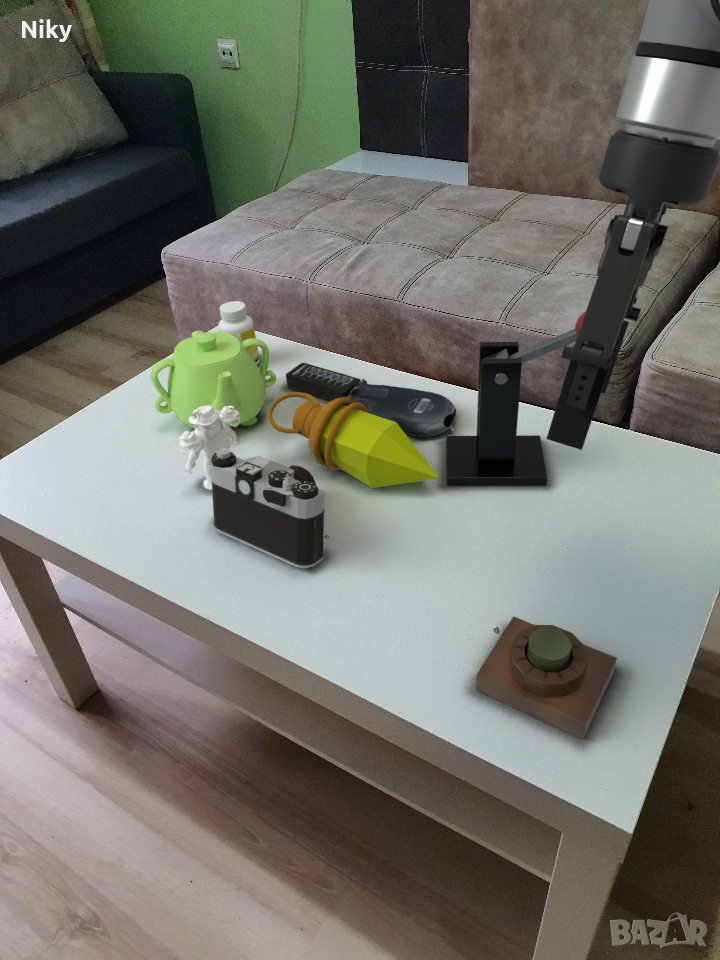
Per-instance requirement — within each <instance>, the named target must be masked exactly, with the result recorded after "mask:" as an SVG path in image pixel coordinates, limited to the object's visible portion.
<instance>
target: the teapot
mask: <svg viewBox="0 0 720 960" xmlns="http://www.w3.org/2000/svg"><path fill="white" fill-rule="evenodd" d="M252 346H257V347H259V348H261V350H262V356H261V362H260V366H258V364H256V362H255V361H254V359H253V358H252V356H251V355H250V354H249V352H248V351H247V350H246V348H249V347H252ZM269 362H270V349H269V346H268V344H266V342H265V341H263V340H261V339H259V338H256V339H254V338H251V339H247V340H244V341H243V342H240V341H239V340H238V339H237V338H236V337H234V336H233V335H231V334H229V333H225V332H219V331H215V332H205V331H204V330H195V331H193V332H192V333H191V337H188V338H185V339H183V340H181V341H179V342H178V343H177V344H176V345H175V347H174V350H173V353H172V356H171V358H164V359H161V360H159V361H157V362H156V363H155V364H154V365H153V366H152V368H151V369H150V374H149V375H150V376H149V378H150V381H151V383H152V384H153V387H154V388H155V390H156V391H157V392H158V394H159V395H160V396H159V397H157V398H156V399H155V402H154V407H155V409H156V411H157V412H158V413H160V414H169V413H171V412H173V414H174V415H175V416H176V417H177V418H178V419H179V420H180V421H182V422H183V423H184V424H185V425H186V426H189V427H190V428H191V429H193V430H195V429H196V428H198V427H195V424H192V423H190V422H189V417H190V415H191V413H192V412H193V410H196V409H198V408H199V407H201V406H212V407H213V408H214V410H217V411H221V410H222V409H223V407H225V406H234V409H233V408H231V410H237V411H239V412H240V415H238V416H240V417H239V418H240V422H239V425H241V426H246V427H247V426H252V425H254V424H256V423H257V422H258V418H257V415H258V414H259V413H260V411H261V410H262V408H263V406H264V404H265V399H266V394H267V392H266V388H270V387H272V386H273V385H274V384H276V382H277V375H276V373H275V372H274V371H273V370H271V369H270V370H269V369H268V367H269ZM166 368H169V369H168V372H167V373H168V375H167V383H166V384H167V390H166V389H165V388H164V386H163V385H162V384H161V382H160V380H159V376H158V375H159V373H160V372H161V371H162V370H165V369H166ZM268 376H270V377H269V378H267V379H266V377H268ZM164 402H165V403H166V404H165V405H161V404H162V403H164ZM223 403H224V404H223ZM222 404H223V405H222ZM192 414H193V413H192ZM238 421H239V419H237V420H236V421H235V422H233V423H231V424H237V423H238ZM225 424H226V423H225ZM231 424H230V423H229V424H226V425H228V426H229V427H230V428H231V427H233V426H232V425H231Z"/></svg>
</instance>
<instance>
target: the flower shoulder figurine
mask: <svg viewBox="0 0 720 960" xmlns="http://www.w3.org/2000/svg"><path fill="white" fill-rule="evenodd" d="M223 404H224V403H223ZM223 404H222V405H223ZM231 408H233V409H234V406H225V407H223V409H222V410H221V411H217V410H214V408H213V407H212V406H201V407H199V408H198V409H196V410H193V412H192V413H193V414H192V413H191V415H190V417H189V422H190V423H192V424H195V427H198V428H196V429H193V430H192V431H191V430H187V429H188V428H185V431H184V432H183V433H182V434H181V435H180V436H179V437H178V438H177V441H179V442H178V443H177V445H178V449H179V451H180V453H182V454H183V455H185V454H186V453H188V451H189V449H190V452H189V455H188V457H187V460H186V463H185V464H184V468H185V470H186V472H187V473H188V474H191V475H192V473H193V471H192V470H193V469H194V468H195V467H196V466H197V462H196V461H198V459H199V457H200V455H201V451H202V454H203V471H204V476H205V478H204V479H203V481H202V482H203V483H202V484H203V487H204V488H205V489H207V490H210V491H212V478H211V465H210V463H211V457H212V456H213V455H214V453H216V452H217V450H218V449H221V448H227V449H229V448H230V447H231V444H233V445H234V446H236V445H237V444H238V442H239V439H238V436H237V433H236V432H235V430H233V429H232V428H231V427H234V428H237V427H238V426H239V425H240V424H239V422H240V418H239V417H240V416H238V415H240V412H239V411H237V410H231ZM237 419H239V421H238V423H237V424H231V423H233V422H235V421H236V420H237ZM225 423H226V424H229V423H230V424H231V425H232V426H230V427H229V426H228V425H226V424H225ZM182 449H186V450H182ZM229 450H230V449H229Z"/></svg>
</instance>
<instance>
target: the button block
mask: <svg viewBox="0 0 720 960" xmlns="http://www.w3.org/2000/svg"><path fill="white" fill-rule="evenodd" d="M545 627H549V628H555V629H558V630H560V631H562V632H563V633H565V634H566V635H567V636H568V638H569V639H570V641H571V653H570V659H569V663H568V665H567V666H566V667H565V668H564V669H563V670H561V671H558V672H544V671H541V670H539V669H537V668H536V667H534V666H533V665H532V664H531V662H530V661H529V659H528V644H529V638H530V635H531V634H532V633H533V632H534V631H535V630H537V629H540V628H545ZM617 660H618V658H617V657H616V656H613V655H611V654H609V653H606V652H604V651H601V650H599V649H597V648H594V647H592V646H589V645H586V644H584V643H583V642H582V640H580V639H579V638H578V636H576V635H575V633H573V632H571V631H569V630H567V629H564V628H562V627H559V626H556V625H553V624H534V623H531V622H529V621H527V620H524V619H521V618H519V617H517V616H512V617H511V619H510V620H509V622H508V624H507V626H506V627H505V629H504V630H503V632H502V633H501V634H500V637H499V638H498V639H497V641H496V643H495V645H494V646H493V647H492V649H491V651H490V653H489V654H488V655H487V657H486V658H485V661H484V662H483V664H482V665H481V667H480V668H479V670H478V671H477V673H476V675H475V691H477V692H479V693H481V694H484V695H486V696H488V697H490V698H492V699H494V700H497V701H499V702H501V703H503V704H505V705H507V706H509V707H511V708H514V709H516V710H518V711H520V712H523V713H525V714H526V715H528V716H531V717H534V718H536V719H538V720H540V721H541V722H544V723H546V724H547V725H548V724H549V725H551V726H553V727H554V728H557V729H559V730H562V731H563V732H566V733H568V734H571V735H572V736H574V737H577V738H578V739H581V740H584V738H585V736H586V734H587V732H588V730H589V727H590V725H591V723H592V721H593V720H594V719H593V718H594V716H595V714H596V712H597V710H598V708H599V706H600V704H601V702H602V700H603V697H604V695H605V692H606V691H607V688H608V687H609V684H610V683H611V680H612V678H613V677H614V673H615V670H616V665H617Z"/></svg>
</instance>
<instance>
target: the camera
mask: <svg viewBox="0 0 720 960" xmlns="http://www.w3.org/2000/svg"><path fill="white" fill-rule="evenodd" d="M210 465H211V478H212V490H211V493H212V508H213V509H212V511H213V527H214V529H215V531H216V532H218V533H220V534H222V535H225V536H227V537H229V538H231V539H234V540H235V541H238V542H240V543H242V544H244V545H246V546H249V547H251V548H254V549H256V550H258V551H260V552H262V553H265V554H267V555H269V556H271V557H273V558H275V559H277V560H280V561H282V562H284V563H287V564H288V565H291V566H292V567H295V568H299V569H300V568H301V569H308V568H312V567H315V566H316V565H318V564H319V563H320V562H321V561H323V559H324V545H325V544H324V539H325V537H324V535H325V503H326V502H325V498H326V495H325V493H326V491H325V490H324V489H321V488H319V486H318V485H317V482H316V480H315V478H314V476H313V475H312V473H311V472H310V471H309V470H307V469H306V468H305V467H302V466H300V465H294V464H291V465H289V466H286V465H283V464H281V463H279V462H276V461H275V460H273V459H270V458H267V457H266V456H265V457H264V456H263V455H257V456H253V457H249V458H246V459H242V458H241V457H238V456H236V454H235V453H234V452H232V451H231V450H230V449H227V448H221V449H218V450H217V452H216V453H214V455H213V456H212V457H211V463H210Z"/></svg>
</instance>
